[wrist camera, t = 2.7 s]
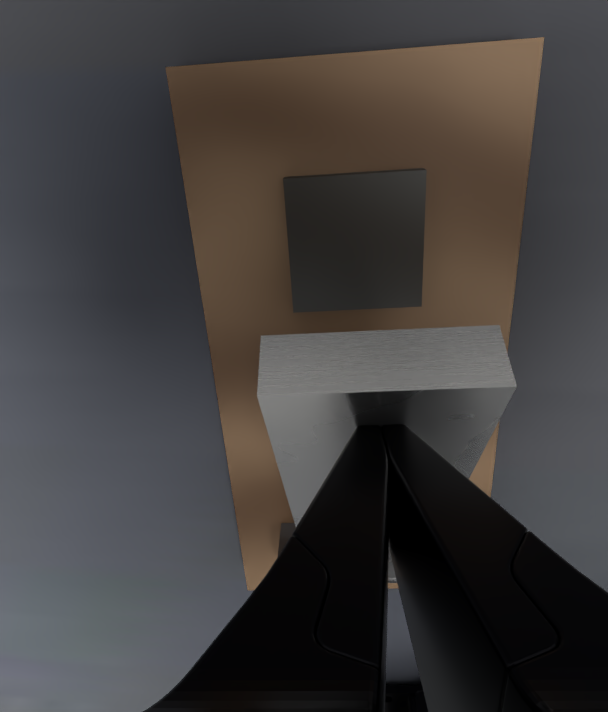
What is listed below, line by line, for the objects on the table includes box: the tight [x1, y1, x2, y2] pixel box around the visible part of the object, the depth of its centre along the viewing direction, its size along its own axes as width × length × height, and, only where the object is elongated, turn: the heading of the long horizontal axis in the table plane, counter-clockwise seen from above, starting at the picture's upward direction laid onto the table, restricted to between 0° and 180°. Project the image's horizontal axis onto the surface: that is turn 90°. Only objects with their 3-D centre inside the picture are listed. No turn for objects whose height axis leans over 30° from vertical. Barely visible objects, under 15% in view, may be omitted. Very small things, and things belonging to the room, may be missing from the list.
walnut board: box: [166, 37, 544, 590], centre depth 17 cm, size 20×10×3 cm, turn 4°
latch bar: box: [257, 325, 517, 583], centre depth 14 cm, size 15×4×1 cm, turn 5°
